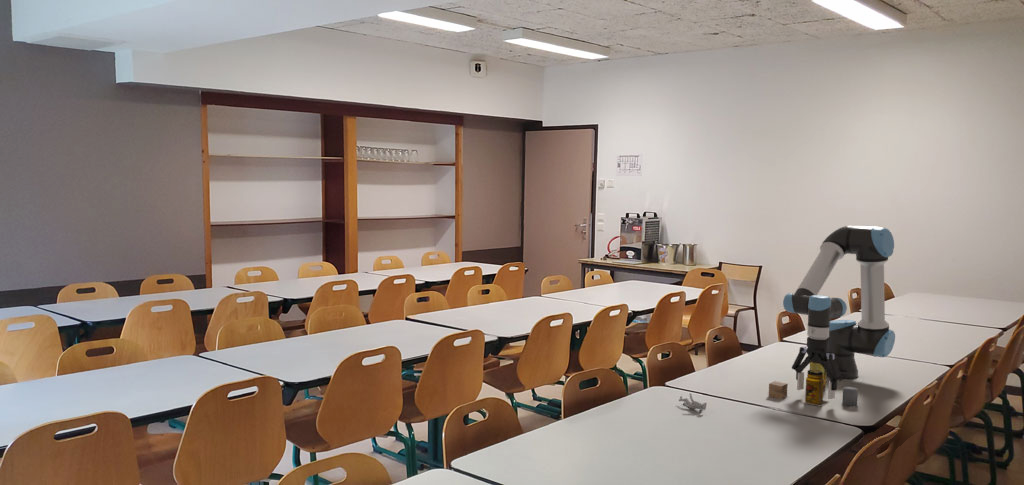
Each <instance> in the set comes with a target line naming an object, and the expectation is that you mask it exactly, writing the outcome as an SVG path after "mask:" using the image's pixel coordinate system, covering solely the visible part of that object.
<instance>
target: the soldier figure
mask: <svg viewBox="0 0 1024 485" xmlns="http://www.w3.org/2000/svg"><path fill="white" fill-rule="evenodd" d="M678 402H683V403H682V405H683V404H685V405H684V406H687V407H689V409H691V410H696V409H697V410H700V411H701V410H702V411H705V410H706V408H707V402H704V403H701V402H700V401H696V400H694V399H693V394H692V393H689V398H687V397H686V398H683V396H680V397H679V399H678Z"/></svg>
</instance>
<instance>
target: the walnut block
mask: <svg viewBox="0 0 1024 485" xmlns="http://www.w3.org/2000/svg"><path fill="white" fill-rule="evenodd" d="M768 397H771V398H776V399H780V400H782V399H784V398H786V397H788V383H787V382H781V381H777V380H774V381H772V382H769V384H768Z"/></svg>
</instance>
